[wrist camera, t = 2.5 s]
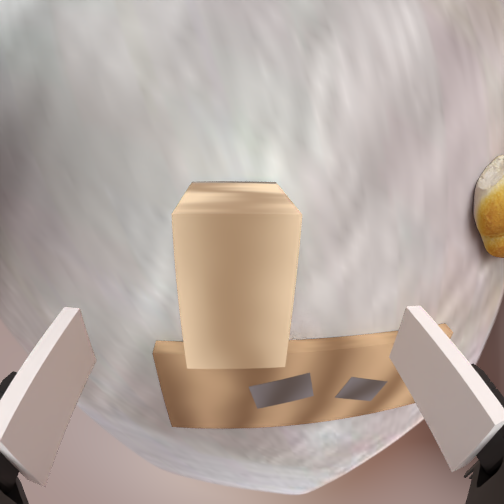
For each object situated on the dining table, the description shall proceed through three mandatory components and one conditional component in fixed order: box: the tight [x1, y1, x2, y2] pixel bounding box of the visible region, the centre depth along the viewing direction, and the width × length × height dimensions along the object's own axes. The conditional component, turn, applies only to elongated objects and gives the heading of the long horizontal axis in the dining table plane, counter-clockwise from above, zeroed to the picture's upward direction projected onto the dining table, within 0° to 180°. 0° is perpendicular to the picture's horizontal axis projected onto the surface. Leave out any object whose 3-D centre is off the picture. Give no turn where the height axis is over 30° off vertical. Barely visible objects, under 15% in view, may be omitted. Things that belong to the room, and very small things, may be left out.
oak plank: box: [153, 324, 453, 428], centre depth 24 cm, size 26×10×2 cm, turn 88°
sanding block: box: [172, 181, 302, 369], centre depth 16 cm, size 5×8×7 cm, turn 178°
